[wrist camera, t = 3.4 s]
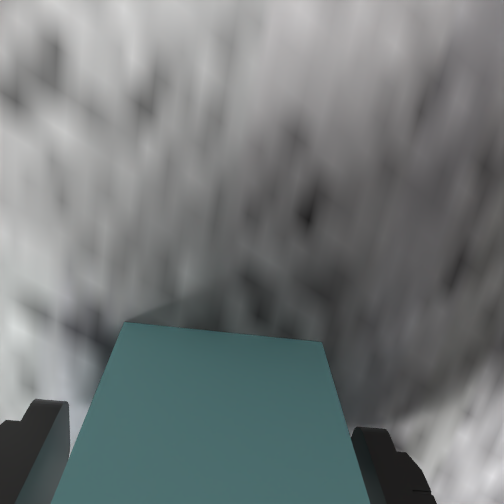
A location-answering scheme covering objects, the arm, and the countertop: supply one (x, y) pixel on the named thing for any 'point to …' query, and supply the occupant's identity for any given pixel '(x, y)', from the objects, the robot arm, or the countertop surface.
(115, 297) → the countertop surface
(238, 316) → the countertop surface
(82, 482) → the teal cube
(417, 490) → the robot arm
